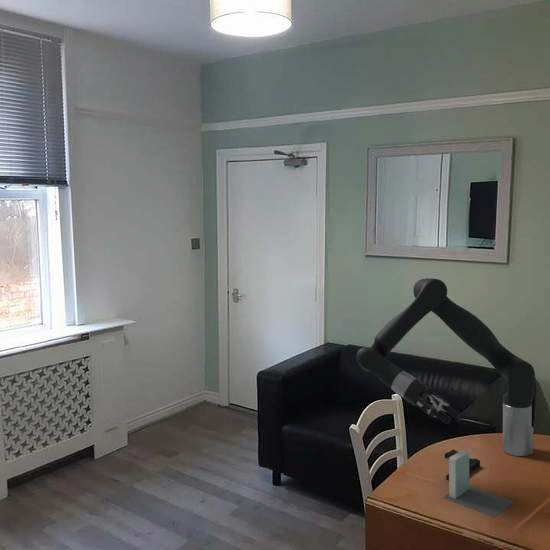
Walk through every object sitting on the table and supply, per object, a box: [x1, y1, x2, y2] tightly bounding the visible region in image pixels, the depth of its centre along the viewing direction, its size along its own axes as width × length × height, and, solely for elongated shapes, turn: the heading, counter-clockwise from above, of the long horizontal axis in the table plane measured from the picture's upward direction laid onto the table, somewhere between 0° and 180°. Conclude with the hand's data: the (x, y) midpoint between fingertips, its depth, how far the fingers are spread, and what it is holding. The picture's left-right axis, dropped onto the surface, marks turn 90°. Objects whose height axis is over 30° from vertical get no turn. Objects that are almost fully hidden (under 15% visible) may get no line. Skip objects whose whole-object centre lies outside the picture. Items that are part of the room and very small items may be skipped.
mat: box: [442, 485, 515, 518], centre depth 166 cm, size 16×12×1 cm
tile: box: [448, 449, 470, 498], centre depth 169 cm, size 2×8×12 cm, turn 132°
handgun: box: [444, 449, 481, 482], centre depth 187 cm, size 3×19×12 cm
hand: (453, 418), depth 172 cm, fingers open, 8 cm apart
